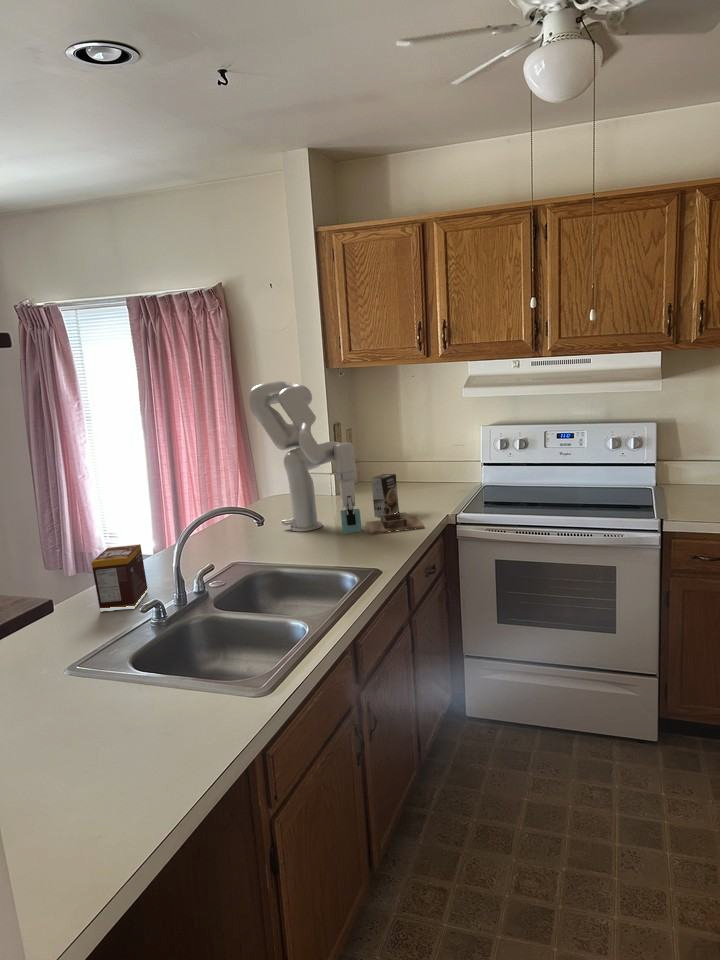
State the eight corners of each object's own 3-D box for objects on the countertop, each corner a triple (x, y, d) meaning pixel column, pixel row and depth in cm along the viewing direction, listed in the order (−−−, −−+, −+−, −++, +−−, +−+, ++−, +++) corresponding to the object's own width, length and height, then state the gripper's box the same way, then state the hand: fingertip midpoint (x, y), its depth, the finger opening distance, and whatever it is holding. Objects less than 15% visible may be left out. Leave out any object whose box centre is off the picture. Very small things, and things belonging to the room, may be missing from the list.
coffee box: (387, 517, 287) (383, 478, 284) (374, 516, 291) (370, 477, 288) (399, 512, 294) (396, 473, 292) (387, 511, 298) (383, 473, 295)
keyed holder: (370, 534, 265) (369, 525, 264) (365, 524, 280) (364, 515, 280) (423, 528, 266) (422, 519, 266) (416, 518, 282) (415, 509, 281)
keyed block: (343, 533, 270) (341, 513, 268) (342, 531, 274) (340, 510, 272) (361, 531, 270) (359, 510, 269) (360, 528, 274) (358, 508, 273)
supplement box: (148, 591, 224) (141, 543, 221) (135, 609, 209) (126, 558, 206) (115, 595, 224) (107, 547, 221) (99, 613, 209) (90, 561, 206)
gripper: (334, 473, 276) (339, 519, 279) (337, 481, 260) (342, 530, 263) (354, 471, 277) (359, 517, 280) (358, 478, 260) (363, 527, 264)
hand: (351, 522), depth 272 cm, fingers closed on keyed block, 4 cm apart
